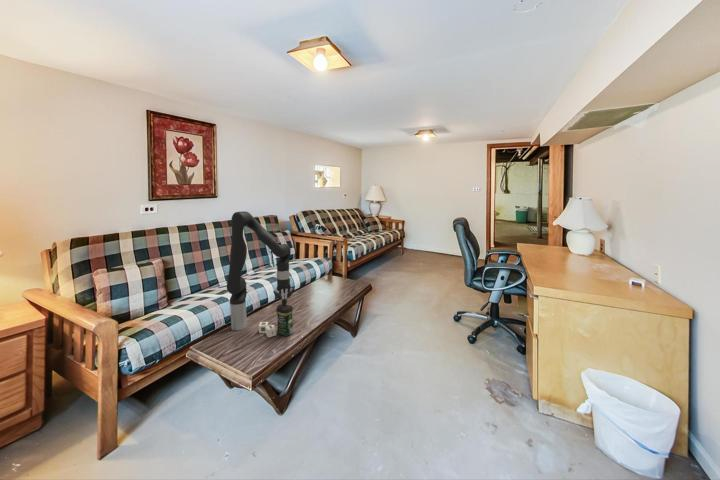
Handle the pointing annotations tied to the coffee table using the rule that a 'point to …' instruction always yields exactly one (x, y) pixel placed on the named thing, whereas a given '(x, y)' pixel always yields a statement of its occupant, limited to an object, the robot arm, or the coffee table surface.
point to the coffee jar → (284, 320)
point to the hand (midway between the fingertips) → (284, 304)
